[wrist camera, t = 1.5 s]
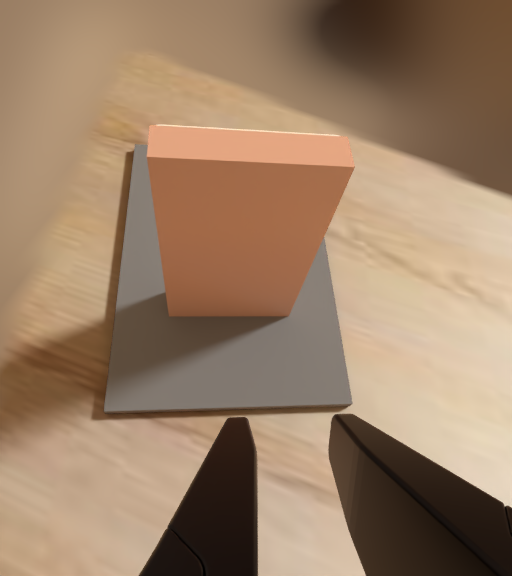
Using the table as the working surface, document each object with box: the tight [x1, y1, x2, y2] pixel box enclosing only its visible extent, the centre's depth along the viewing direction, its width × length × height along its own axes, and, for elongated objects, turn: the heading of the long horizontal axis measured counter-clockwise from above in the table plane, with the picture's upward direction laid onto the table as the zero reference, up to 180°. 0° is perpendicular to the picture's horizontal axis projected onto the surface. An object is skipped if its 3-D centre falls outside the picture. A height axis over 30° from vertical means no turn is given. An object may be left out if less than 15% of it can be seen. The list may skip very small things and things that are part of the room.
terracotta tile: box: [147, 124, 355, 316], centre depth 19 cm, size 2×7×12 cm, turn 93°
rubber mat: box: [104, 144, 352, 414], centre depth 27 cm, size 19×13×1 cm
